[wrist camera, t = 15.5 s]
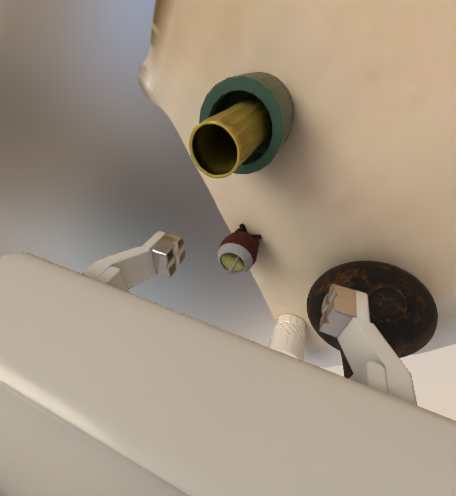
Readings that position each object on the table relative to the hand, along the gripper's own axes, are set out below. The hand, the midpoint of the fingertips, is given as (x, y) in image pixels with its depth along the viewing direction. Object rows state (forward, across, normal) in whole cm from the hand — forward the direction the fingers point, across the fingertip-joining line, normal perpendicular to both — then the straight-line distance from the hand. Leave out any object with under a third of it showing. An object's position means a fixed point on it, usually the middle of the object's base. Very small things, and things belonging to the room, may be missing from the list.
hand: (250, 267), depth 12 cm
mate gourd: (+27, +7, +19) cm, 34 cm away
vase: (+26, +8, -1) cm, 27 cm away
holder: (+27, +8, -1) cm, 28 cm away
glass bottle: (+27, -16, +23) cm, 39 cm away
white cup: (+27, -7, +42) cm, 50 cm away
